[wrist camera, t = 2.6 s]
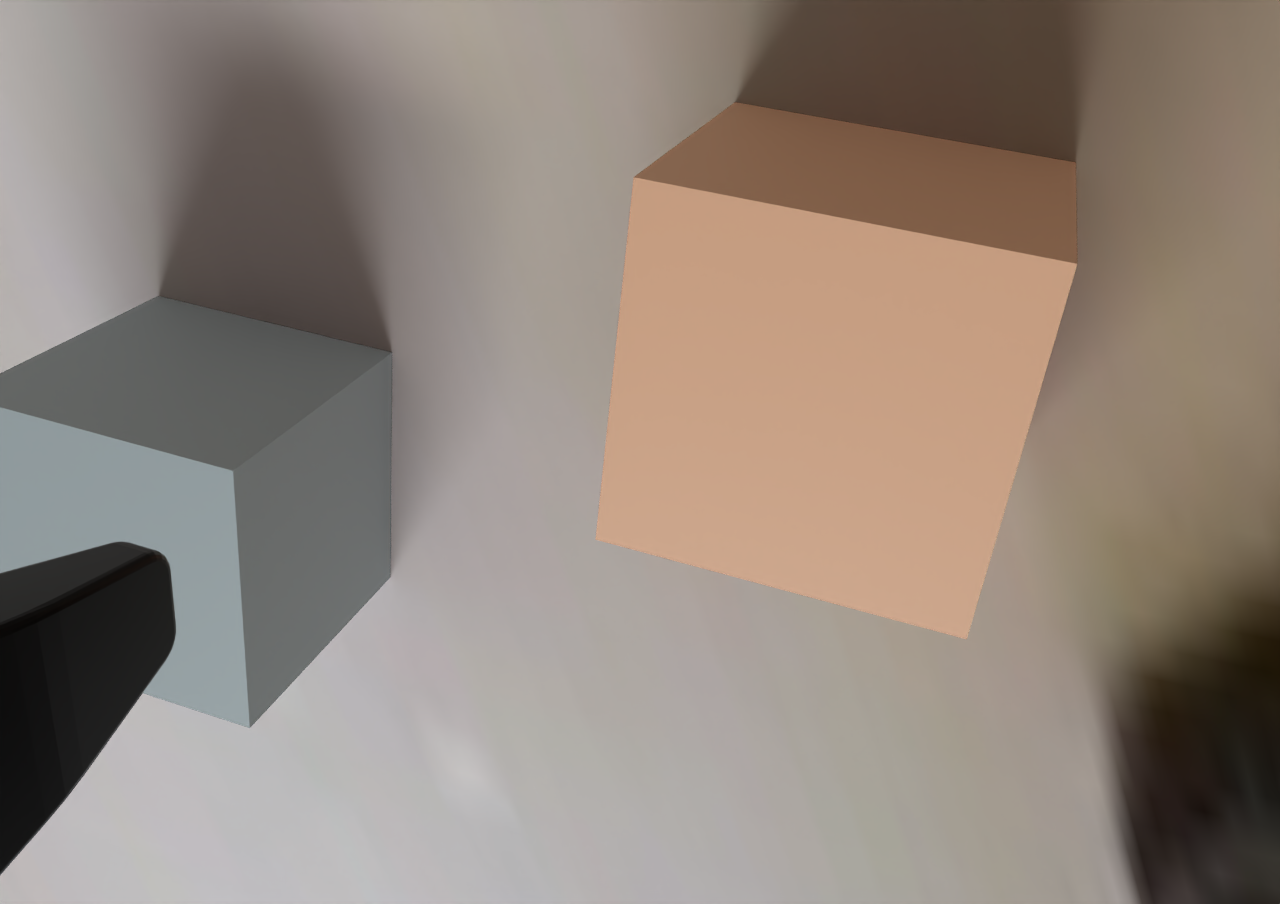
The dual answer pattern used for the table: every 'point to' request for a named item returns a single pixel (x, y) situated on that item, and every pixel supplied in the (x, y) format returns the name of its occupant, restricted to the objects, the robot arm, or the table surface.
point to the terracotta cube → (833, 357)
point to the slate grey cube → (210, 483)
